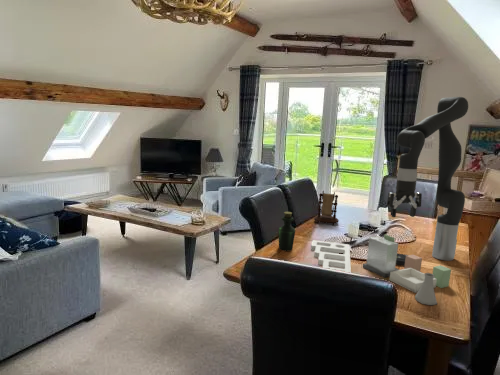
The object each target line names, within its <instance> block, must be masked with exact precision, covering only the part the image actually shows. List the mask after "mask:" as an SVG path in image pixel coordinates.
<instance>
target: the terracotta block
mask: <svg viewBox="0 0 500 375" xmlns="http://www.w3.org/2000/svg"><path fill="white" fill-rule="evenodd" d="M407 255H408V256H406V259H405V266H403V267H404V268H403V269H407V268H412V269H415V270H417V271H419V272H421V269H422V261H423V257H421V256H418V255H415V254H407Z"/></svg>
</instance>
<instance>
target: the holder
mask: <svg viewBox="0 0 500 375" xmlns="http://www.w3.org/2000/svg"><path fill="white" fill-rule="evenodd" d="M310 250H311V251H314V258H318V261H317V265H320V266H322V268H330V269H336V270H341V271H345V272H350V273H351V274H352V271H351V270H352V269H351V252H350V250H351V248H350V244H346V243H339V242H331V241H323V240H314V239H313V240H312V242H311V246H310ZM339 253H343V254H339Z"/></svg>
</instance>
